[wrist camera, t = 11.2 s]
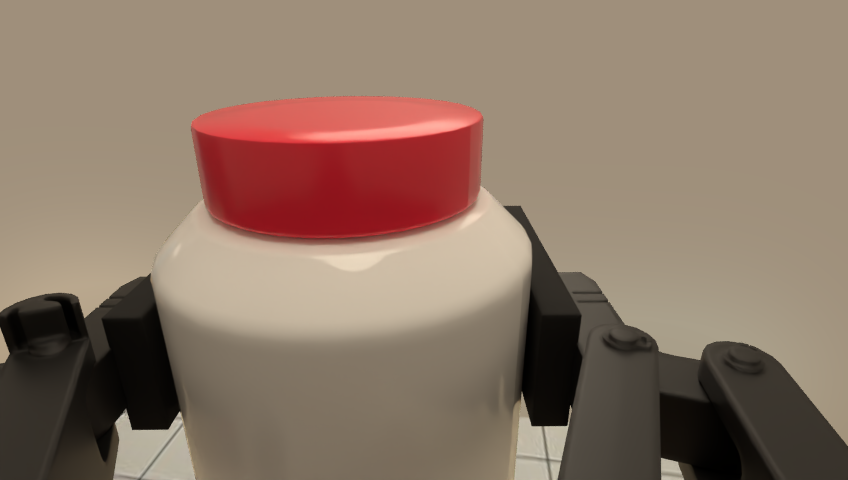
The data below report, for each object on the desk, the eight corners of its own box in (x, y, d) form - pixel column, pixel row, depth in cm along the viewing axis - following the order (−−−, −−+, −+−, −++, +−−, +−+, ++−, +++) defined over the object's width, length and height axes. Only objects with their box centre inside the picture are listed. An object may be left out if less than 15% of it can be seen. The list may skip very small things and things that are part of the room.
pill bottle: (341, 393, 19) (316, 84, 15) (546, 474, 16) (589, 101, 11) (150, 573, 13) (15, 127, 9) (421, 773, 9) (416, 192, 5)
